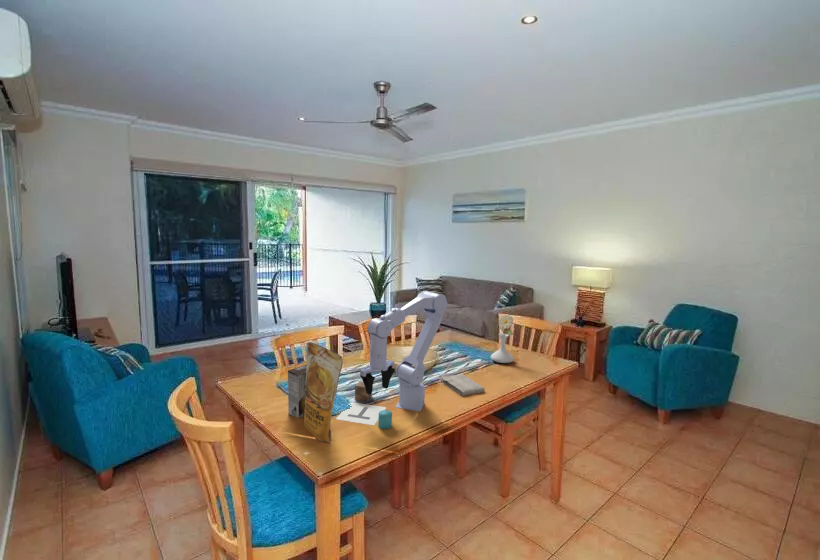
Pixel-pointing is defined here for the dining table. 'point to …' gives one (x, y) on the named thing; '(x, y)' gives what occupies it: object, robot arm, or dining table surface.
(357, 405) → the letter mat
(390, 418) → the teal rounded cylinder
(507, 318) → the flower in vase
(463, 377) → the washcloth
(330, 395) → the pancake mix bag
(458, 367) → the dining table surface
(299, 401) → the coffee box
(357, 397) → the walnut block
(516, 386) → the dining table surface
